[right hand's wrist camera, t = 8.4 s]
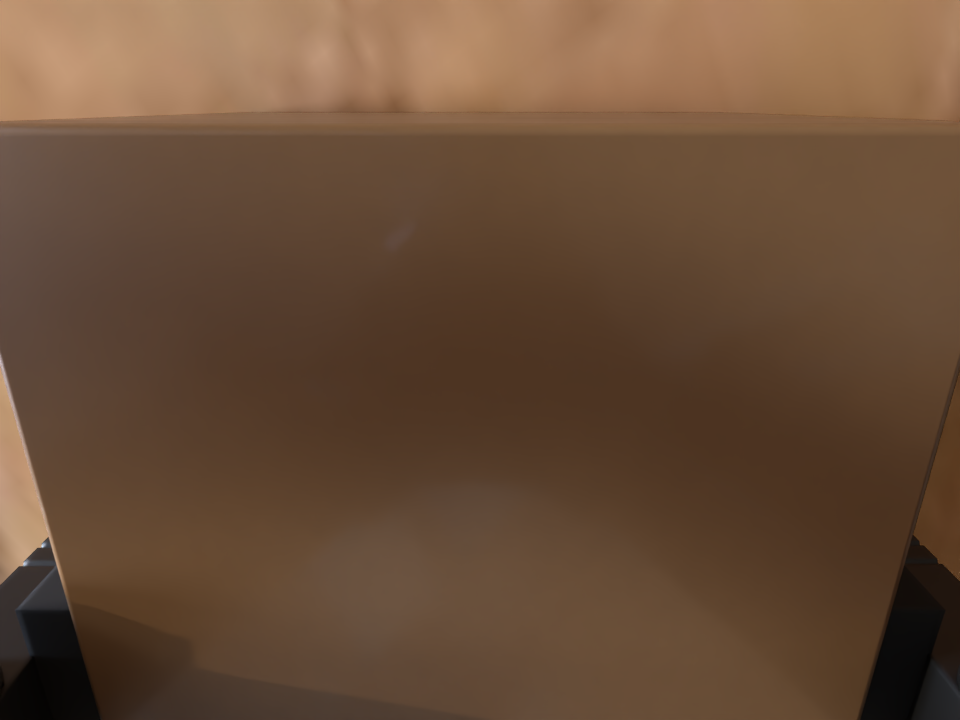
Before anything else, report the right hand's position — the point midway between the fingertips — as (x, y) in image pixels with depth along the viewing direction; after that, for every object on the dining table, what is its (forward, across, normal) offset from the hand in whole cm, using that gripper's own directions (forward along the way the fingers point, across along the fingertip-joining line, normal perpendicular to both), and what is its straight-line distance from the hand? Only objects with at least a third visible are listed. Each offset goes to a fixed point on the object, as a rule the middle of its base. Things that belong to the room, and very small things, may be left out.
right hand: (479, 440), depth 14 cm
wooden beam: (0, 0, -27) cm, 27 cm away
